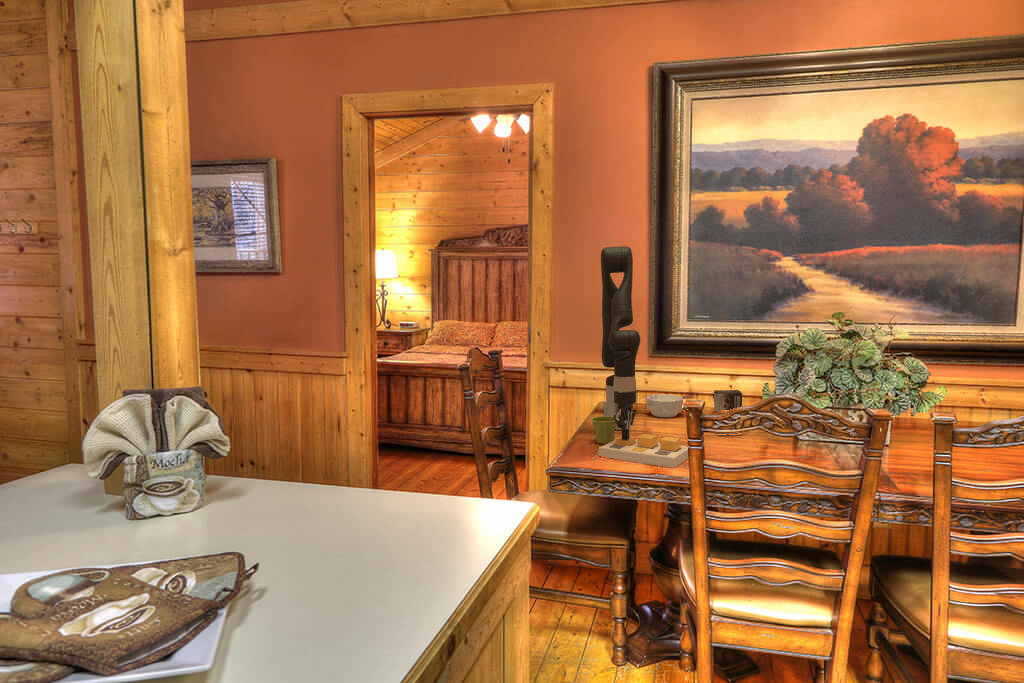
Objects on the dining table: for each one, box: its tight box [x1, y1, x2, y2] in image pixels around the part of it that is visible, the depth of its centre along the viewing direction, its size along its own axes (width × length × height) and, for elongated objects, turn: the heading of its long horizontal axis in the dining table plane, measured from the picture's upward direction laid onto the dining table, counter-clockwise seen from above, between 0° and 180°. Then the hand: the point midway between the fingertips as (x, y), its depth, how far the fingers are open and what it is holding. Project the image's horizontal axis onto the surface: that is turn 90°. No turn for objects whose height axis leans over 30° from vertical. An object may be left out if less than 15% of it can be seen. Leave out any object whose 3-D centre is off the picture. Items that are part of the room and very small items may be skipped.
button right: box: [659, 436, 682, 451], centre depth 213 cm, size 5×5×3 cm
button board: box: [598, 438, 689, 469], centre depth 217 cm, size 26×16×3 cm, turn 55°
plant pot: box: [591, 416, 616, 445], centre depth 236 cm, size 9×9×9 cm
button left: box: [615, 436, 637, 446], centre depth 223 cm, size 5×5×3 cm
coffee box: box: [713, 389, 744, 435], centre depth 243 cm, size 9×6×16 cm
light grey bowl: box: [645, 393, 684, 419], centre depth 278 cm, size 15×15×8 cm
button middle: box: [636, 433, 659, 448], centre depth 218 cm, size 5×5×3 cm
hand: (625, 439), depth 222 cm, fingers closed
